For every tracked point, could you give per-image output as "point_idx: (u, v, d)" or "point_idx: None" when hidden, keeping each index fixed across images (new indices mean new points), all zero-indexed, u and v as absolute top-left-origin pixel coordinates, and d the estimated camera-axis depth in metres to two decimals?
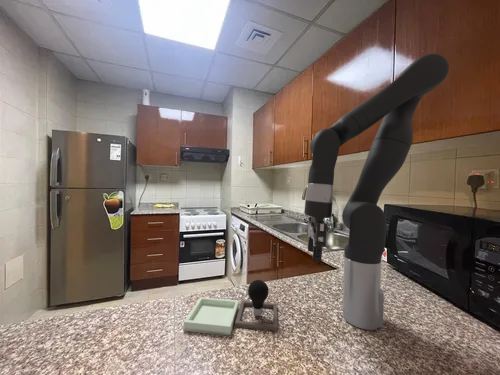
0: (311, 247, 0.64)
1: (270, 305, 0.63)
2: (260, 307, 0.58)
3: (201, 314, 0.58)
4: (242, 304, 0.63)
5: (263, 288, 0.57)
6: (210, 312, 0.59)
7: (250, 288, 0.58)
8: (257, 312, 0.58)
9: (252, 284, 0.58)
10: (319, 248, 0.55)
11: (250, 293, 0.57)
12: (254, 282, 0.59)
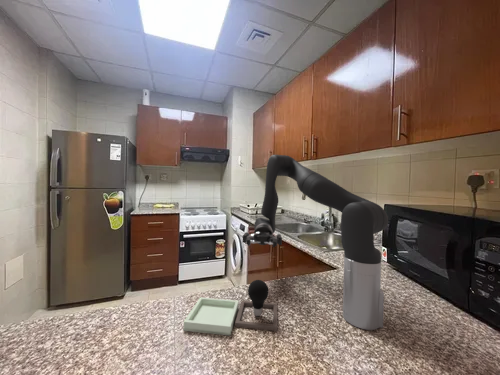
0: None
1: (270, 305, 0.63)
2: (260, 307, 0.58)
3: (201, 314, 0.58)
4: (242, 304, 0.63)
5: (263, 288, 0.57)
6: (210, 312, 0.59)
7: (250, 288, 0.58)
8: (257, 312, 0.58)
9: (252, 284, 0.58)
10: None
11: (250, 293, 0.57)
12: (254, 282, 0.59)
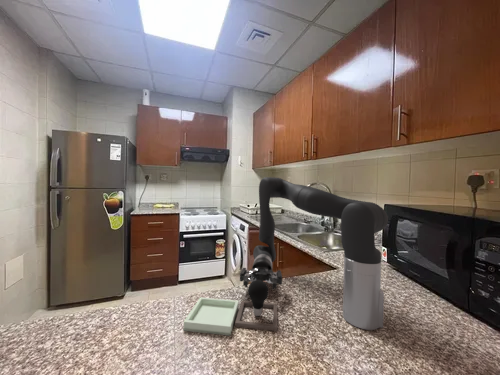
0: None
1: (270, 305, 0.63)
2: (260, 307, 0.58)
3: (201, 314, 0.58)
4: (242, 304, 0.63)
5: (263, 288, 0.57)
6: (210, 312, 0.59)
7: (250, 288, 0.58)
8: (257, 312, 0.58)
9: (252, 284, 0.58)
10: (244, 278, 0.69)
11: (250, 293, 0.57)
12: (254, 282, 0.59)
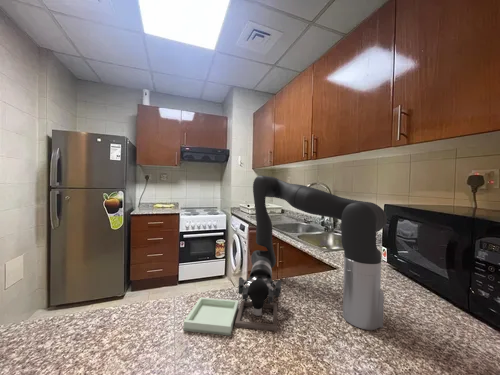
0: None
1: (270, 305, 0.63)
2: (260, 307, 0.58)
3: (201, 314, 0.58)
4: (242, 304, 0.63)
5: (263, 288, 0.57)
6: (210, 312, 0.59)
7: (250, 288, 0.58)
8: (257, 312, 0.58)
9: (252, 284, 0.58)
10: None
11: (250, 293, 0.57)
12: (254, 282, 0.59)
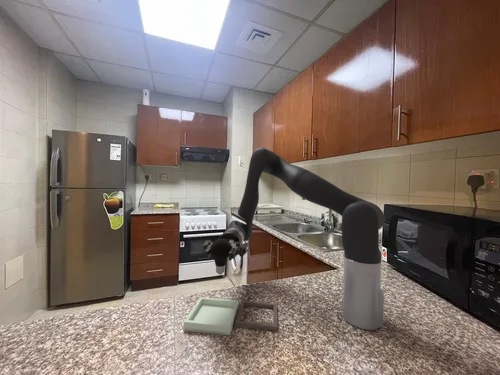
0: None
1: (270, 305, 0.63)
2: (222, 265, 0.57)
3: (201, 314, 0.58)
4: (242, 304, 0.63)
5: (224, 245, 0.56)
6: (210, 312, 0.59)
7: (212, 245, 0.57)
8: (219, 270, 0.57)
9: (214, 242, 0.58)
10: (207, 250, 0.60)
11: (211, 250, 0.57)
12: (216, 240, 0.58)
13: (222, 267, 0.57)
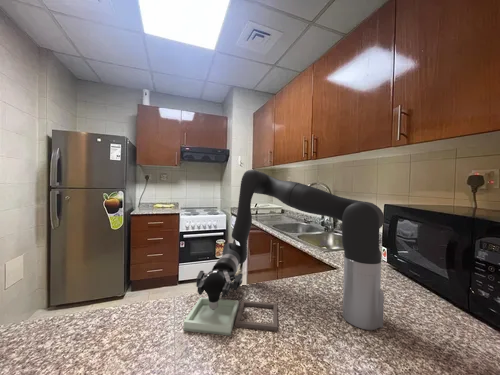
0: None
1: (270, 305, 0.63)
2: (215, 300, 0.56)
3: (201, 314, 0.58)
4: (242, 304, 0.63)
5: (218, 281, 0.56)
6: (210, 312, 0.59)
7: (205, 281, 0.56)
8: (212, 305, 0.57)
9: (207, 277, 0.57)
10: None
11: (204, 286, 0.56)
12: (210, 275, 0.57)
13: (215, 303, 0.57)
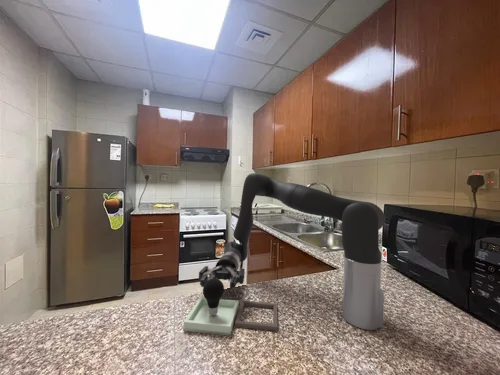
0: None
1: (270, 305, 0.63)
2: (214, 306, 0.56)
3: (201, 314, 0.58)
4: (242, 304, 0.63)
5: (217, 287, 0.56)
6: None
7: (204, 287, 0.56)
8: (212, 311, 0.56)
9: (206, 283, 0.57)
10: None
11: (204, 292, 0.56)
12: (209, 281, 0.57)
13: (215, 309, 0.57)
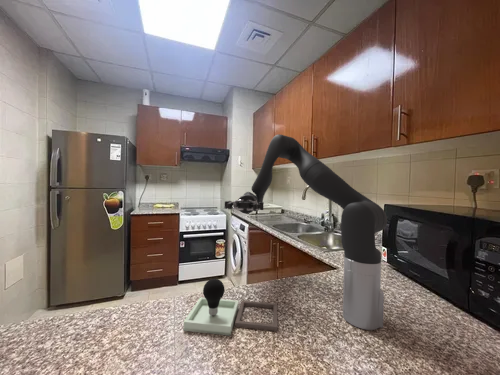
0: None
1: (270, 305, 0.63)
2: (215, 306, 0.56)
3: (201, 314, 0.58)
4: (242, 304, 0.63)
5: (217, 287, 0.56)
6: None
7: (204, 287, 0.56)
8: (212, 312, 0.56)
9: (207, 283, 0.57)
10: None
11: (204, 292, 0.56)
12: (209, 281, 0.57)
13: (215, 309, 0.57)
